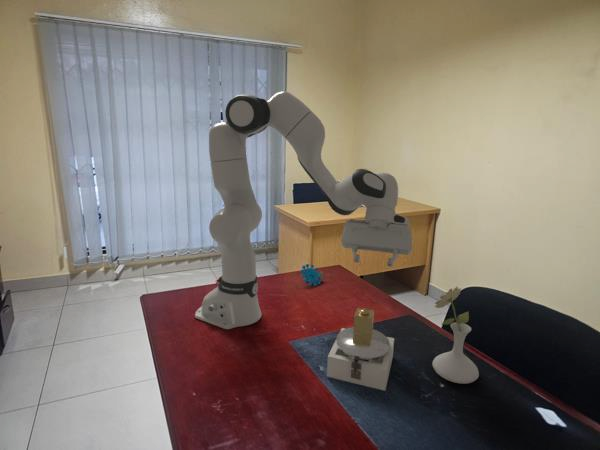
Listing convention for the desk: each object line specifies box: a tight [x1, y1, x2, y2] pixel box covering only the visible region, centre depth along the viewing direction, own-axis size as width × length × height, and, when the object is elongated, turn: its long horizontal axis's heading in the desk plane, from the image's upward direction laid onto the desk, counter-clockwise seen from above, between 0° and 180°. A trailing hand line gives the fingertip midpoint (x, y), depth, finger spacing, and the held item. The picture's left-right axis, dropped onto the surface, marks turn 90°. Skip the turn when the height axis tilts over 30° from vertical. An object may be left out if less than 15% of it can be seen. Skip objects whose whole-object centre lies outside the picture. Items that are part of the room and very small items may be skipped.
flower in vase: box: [432, 286, 480, 385], centre depth 96 cm, size 13×11×25 cm
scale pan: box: [335, 326, 390, 374], centre depth 99 cm, size 14×16×6 cm
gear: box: [299, 263, 323, 287], centre depth 156 cm, size 11×6×10 cm
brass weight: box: [353, 307, 375, 346], centre depth 99 cm, size 4×4×9 cm
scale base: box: [326, 327, 395, 392], centre depth 101 cm, size 15×15×6 cm
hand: (372, 263), depth 105 cm, fingers open, 8 cm apart
